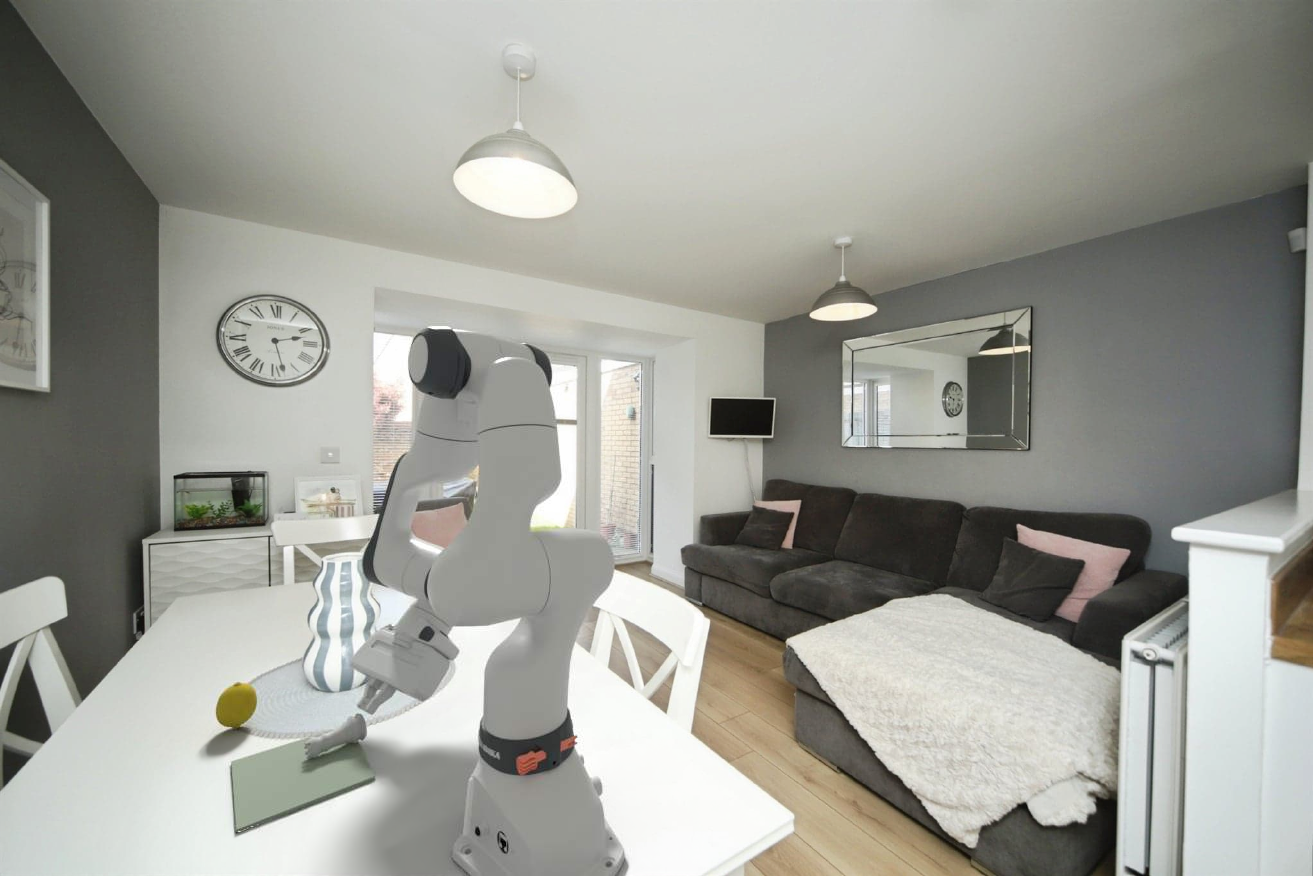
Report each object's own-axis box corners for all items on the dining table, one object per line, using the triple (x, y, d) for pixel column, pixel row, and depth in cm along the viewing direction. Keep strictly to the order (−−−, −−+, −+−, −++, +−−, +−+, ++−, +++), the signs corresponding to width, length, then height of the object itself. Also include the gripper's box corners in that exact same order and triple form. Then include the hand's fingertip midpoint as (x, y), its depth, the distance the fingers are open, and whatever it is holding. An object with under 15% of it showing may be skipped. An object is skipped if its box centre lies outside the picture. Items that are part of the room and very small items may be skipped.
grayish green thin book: (375, 779, 75) (375, 776, 75) (236, 833, 64) (236, 829, 64) (349, 727, 88) (349, 724, 88) (231, 764, 78) (231, 761, 78)
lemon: (232, 739, 84) (234, 692, 84) (206, 735, 85) (207, 688, 85) (264, 721, 90) (265, 677, 90) (239, 717, 91) (240, 673, 91)
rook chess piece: (369, 736, 82) (312, 763, 76) (362, 741, 85) (306, 767, 79) (362, 709, 84) (306, 733, 78) (356, 714, 86) (300, 738, 80)
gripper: (375, 613, 95) (318, 686, 87) (444, 637, 84) (386, 722, 76) (397, 629, 99) (344, 700, 90) (466, 654, 88) (412, 737, 80)
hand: (364, 711), depth 83 cm, fingers closed
